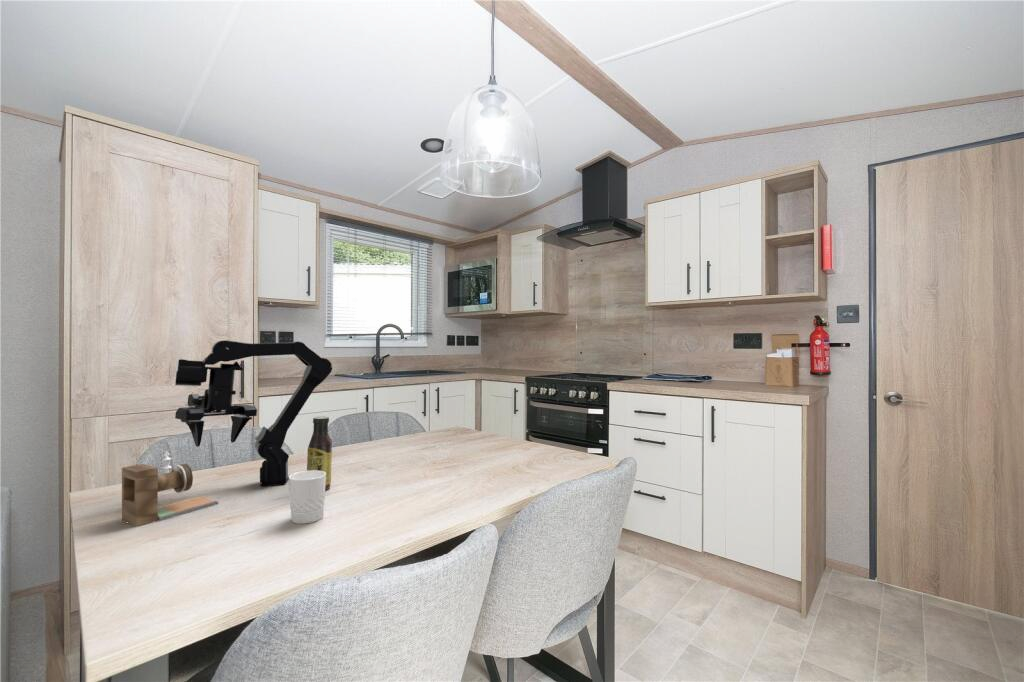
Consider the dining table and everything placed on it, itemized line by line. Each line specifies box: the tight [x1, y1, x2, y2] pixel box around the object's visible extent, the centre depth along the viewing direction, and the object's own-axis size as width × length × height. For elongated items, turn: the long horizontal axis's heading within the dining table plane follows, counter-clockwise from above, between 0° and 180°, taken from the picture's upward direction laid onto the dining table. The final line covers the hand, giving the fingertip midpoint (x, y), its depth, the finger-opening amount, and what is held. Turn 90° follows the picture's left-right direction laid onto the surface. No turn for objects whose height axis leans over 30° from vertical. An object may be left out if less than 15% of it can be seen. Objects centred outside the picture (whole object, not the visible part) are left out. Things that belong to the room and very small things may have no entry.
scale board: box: [158, 495, 219, 521], centre depth 114 cm, size 13×8×1 cm, turn 151°
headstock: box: [121, 463, 159, 527], centre depth 106 cm, size 4×7×12 cm, turn 61°
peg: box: [158, 463, 194, 493], centre depth 111 cm, size 8×6×6 cm
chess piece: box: [161, 451, 172, 474], centre depth 130 cm, size 5×5×10 cm
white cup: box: [288, 470, 326, 525], centre depth 108 cm, size 8×8×10 cm
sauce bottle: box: [306, 415, 333, 491], centre depth 129 cm, size 6×6×20 cm
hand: (215, 444), depth 126 cm, fingers open, 9 cm apart
